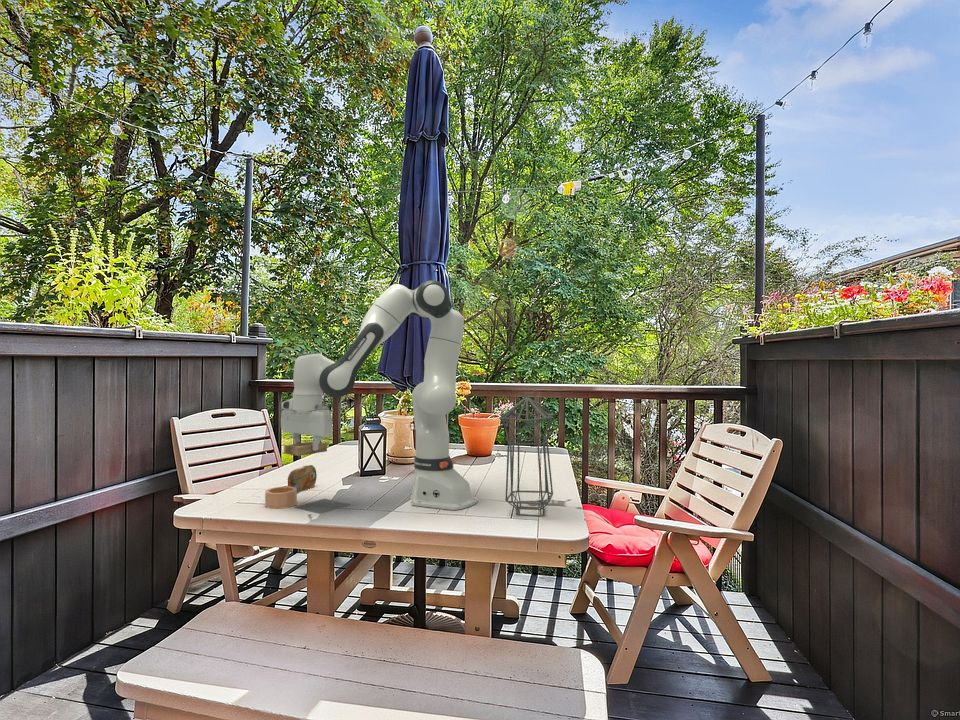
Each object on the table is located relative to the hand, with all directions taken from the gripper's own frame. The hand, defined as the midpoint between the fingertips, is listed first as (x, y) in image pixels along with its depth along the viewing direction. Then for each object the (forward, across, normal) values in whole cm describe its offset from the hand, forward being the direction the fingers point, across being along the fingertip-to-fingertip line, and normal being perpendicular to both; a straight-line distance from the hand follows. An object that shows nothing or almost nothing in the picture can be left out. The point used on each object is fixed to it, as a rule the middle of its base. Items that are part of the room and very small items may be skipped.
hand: (305, 448), depth 155 cm
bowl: (+18, +7, +3) cm, 20 cm away
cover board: (+1, 0, 0) cm, 1 cm away
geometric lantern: (+17, -61, -33) cm, 71 cm away
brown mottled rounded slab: (+18, +17, -13) cm, 28 cm away
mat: (+18, -5, -3) cm, 19 cm away
